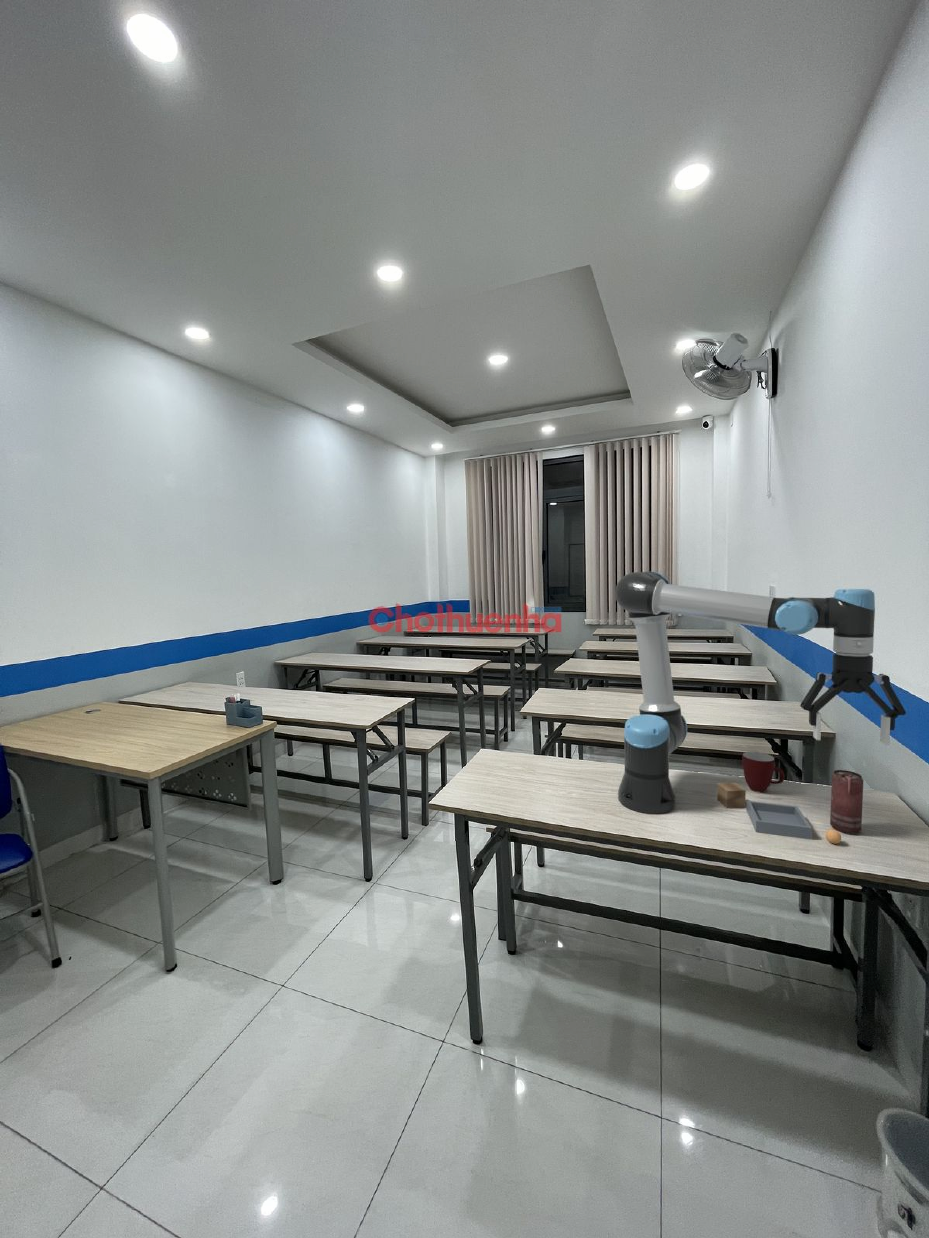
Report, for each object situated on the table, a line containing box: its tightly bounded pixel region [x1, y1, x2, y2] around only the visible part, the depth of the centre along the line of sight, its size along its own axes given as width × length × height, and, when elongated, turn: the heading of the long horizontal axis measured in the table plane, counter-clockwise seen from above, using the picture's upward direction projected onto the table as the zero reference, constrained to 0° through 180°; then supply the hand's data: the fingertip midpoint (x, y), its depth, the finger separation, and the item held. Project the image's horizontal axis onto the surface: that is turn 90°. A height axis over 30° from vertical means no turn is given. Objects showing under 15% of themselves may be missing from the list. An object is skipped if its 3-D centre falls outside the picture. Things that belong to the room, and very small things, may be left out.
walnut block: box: [716, 782, 747, 809], centre depth 135 cm, size 5×5×5 cm
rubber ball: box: [825, 829, 843, 845], centre depth 114 cm, size 3×3×3 cm
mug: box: [741, 751, 786, 793], centre depth 143 cm, size 10×8×10 cm
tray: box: [746, 800, 813, 840], centre depth 123 cm, size 12×12×3 cm
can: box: [829, 769, 864, 836], centre depth 120 cm, size 6×6×14 cm
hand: (850, 740), depth 118 cm, fingers open, 13 cm apart
